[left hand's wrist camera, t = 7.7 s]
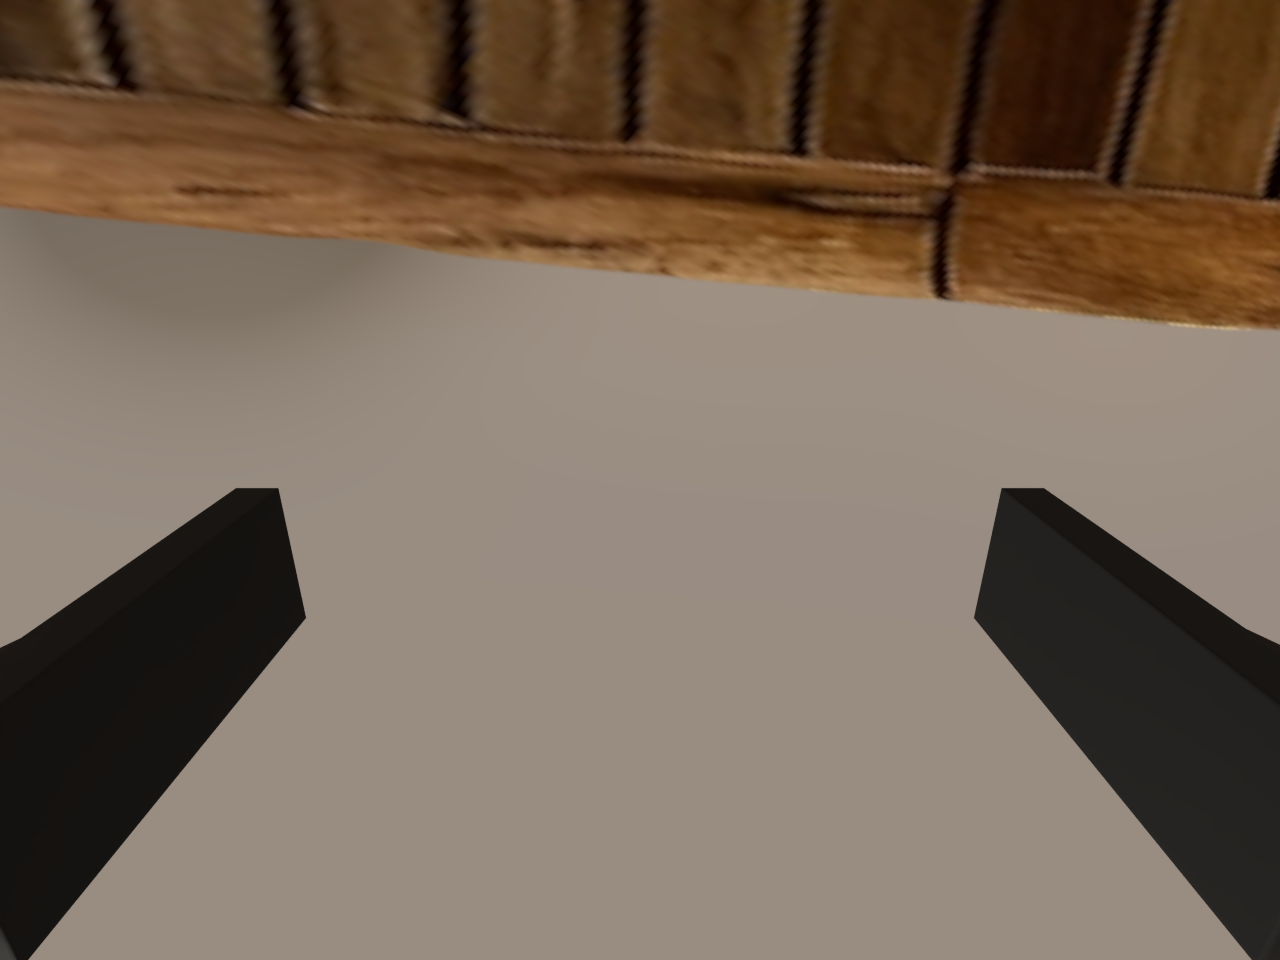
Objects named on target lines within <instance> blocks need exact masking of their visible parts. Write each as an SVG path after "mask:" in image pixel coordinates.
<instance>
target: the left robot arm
mask: <svg viewBox="0 0 1280 960" xmlns="http://www.w3.org/2000/svg"><path fill="white" fill-rule="evenodd" d="M305 618H306V616H305V611H304V606H303V602H302V597H301V592H300V587H299V583H298V578H297V574H296V569H295V564H294V559H293V555H292V550H291V545H290V541H289V536H288V531H287V527H286V522H285V517H284V513H283V508H282V503H281V499H280V494H279V489H278V488H236V489H234V490H233V491H231V492H230V493H229V494H227V495H226V496H224V497H223V498H221V499H220V500H219V501H217V502H216V503H214V504H213V505H211V506H210V507H209V508H207V509H206V510H204V511H203V512H201V513H200V514H198V515H197V516H196V517H194V518H193V519H191V520H190V521H188V522H187V523H186V524H184V525H183V526H181V527H180V528H178V529H177V530H175V531H174V532H173V533H171V534H170V535H168V536H167V537H165V538H164V539H163V540H161V541H160V542H158V543H157V544H155V545H154V546H152V547H151V548H150V549H148V550H147V551H145V552H144V553H142V554H141V555H140V556H138V557H137V558H135V559H134V560H132V561H131V562H130V563H128V564H127V565H125V566H124V567H122V568H121V569H119V570H118V571H117V572H115V573H114V574H112V575H111V576H109V577H108V578H107V579H105V580H104V581H102V582H101V583H99V584H98V585H97V586H95V587H94V588H92V589H91V590H89V591H88V592H86V593H85V594H84V595H82V596H81V597H79V598H78V599H76V600H75V601H73V602H72V603H71V604H69V605H68V606H66V607H65V608H63V609H62V610H61V611H59V612H58V613H56V614H55V615H53V616H52V617H51V618H49V619H48V620H46V621H45V622H43V623H42V624H40V625H39V626H38V627H36V628H35V629H33V630H32V631H30V632H29V633H28V634H26V635H25V636H23V637H22V638H20V639H18V640H16V641H14V642H12V643H9V644H7V645H5V646H3V647H1V648H0V960H28V959H29V958H30V957H31V956H32V954H33V953H34V952H35V951H36V949H37V948H38V947H39V946H40V945H41V943H42V942H43V941H44V940H45V938H46V937H47V936H48V935H49V933H50V932H51V931H52V930H53V928H54V927H55V926H56V925H57V924H58V922H59V921H60V920H61V919H62V917H63V916H64V915H65V914H66V913H67V911H68V910H69V909H70V908H71V906H72V905H73V904H74V903H75V901H76V900H77V899H78V898H79V897H80V895H81V894H82V893H83V892H84V890H85V889H86V888H87V887H88V885H89V884H90V883H91V882H92V881H93V879H94V878H95V877H96V876H97V874H98V873H99V872H100V871H101V869H102V868H103V867H104V866H105V864H106V863H107V862H108V861H109V860H110V858H111V857H112V856H113V855H114V853H115V852H116V851H117V850H118V849H119V847H120V846H121V845H122V844H123V842H124V841H125V840H126V839H127V837H128V836H129V835H130V834H131V833H132V831H133V830H134V829H135V828H136V826H137V825H138V824H139V823H140V821H141V820H142V819H143V818H144V817H145V815H146V814H147V813H148V812H149V810H150V809H151V808H152V807H153V805H154V804H155V803H156V802H157V801H158V799H159V798H160V797H161V796H162V794H163V793H164V792H165V791H166V790H167V788H168V787H169V786H170V785H171V783H172V782H173V781H174V780H175V778H176V777H177V776H178V775H179V774H180V772H181V771H182V770H183V769H184V767H185V766H186V765H187V764H188V762H189V761H190V760H191V759H192V758H193V756H194V755H195V754H196V753H197V751H198V750H199V749H200V748H201V746H202V745H203V744H204V743H205V742H206V740H207V739H208V738H209V737H210V735H211V734H212V733H213V732H214V730H215V729H216V728H217V727H218V726H219V724H220V723H221V722H222V721H223V719H224V718H225V717H226V716H227V714H228V713H229V712H230V711H231V710H232V708H233V707H234V706H235V705H236V703H237V702H238V701H239V700H240V698H241V697H242V696H243V695H244V694H245V692H246V691H247V690H248V689H249V687H250V686H251V685H252V684H253V682H254V681H255V680H256V679H257V678H258V676H259V675H260V674H261V673H262V671H263V670H264V669H265V668H266V666H267V665H268V664H269V663H270V662H271V660H272V659H273V658H274V657H275V655H276V654H277V653H278V652H279V650H280V649H281V648H282V647H283V646H284V644H285V643H286V642H287V641H288V639H289V638H290V637H291V636H292V634H293V633H294V632H295V631H296V630H297V628H298V627H299V626H300V625H301V623H302V622H303V621H304V620H305ZM974 618H975V620H976V621H977V622H978V623H979V625H980V626H981V627H982V628H983V630H984V631H985V632H986V633H987V634H988V636H989V637H990V638H991V639H992V641H993V642H994V643H995V644H996V646H997V647H998V648H999V649H1000V650H1001V652H1002V653H1003V654H1004V655H1005V657H1006V658H1007V659H1008V660H1009V662H1010V663H1011V664H1012V665H1013V666H1014V668H1015V669H1016V670H1017V671H1018V673H1019V674H1020V675H1021V676H1022V678H1023V679H1024V680H1025V681H1026V682H1027V684H1028V685H1029V686H1030V687H1031V689H1032V690H1033V691H1034V692H1035V694H1036V695H1037V696H1038V697H1039V698H1040V700H1041V701H1042V702H1043V703H1044V705H1045V706H1046V707H1047V708H1048V709H1049V711H1050V712H1051V713H1052V714H1053V716H1054V717H1055V718H1056V719H1057V721H1058V722H1059V723H1060V724H1061V726H1062V727H1063V728H1064V729H1065V730H1066V732H1067V733H1068V734H1069V735H1070V737H1071V738H1072V739H1073V740H1074V741H1075V743H1076V744H1077V745H1078V746H1079V748H1080V749H1081V750H1082V751H1083V753H1084V754H1085V755H1086V756H1087V757H1088V759H1089V760H1090V761H1091V762H1092V764H1093V765H1094V766H1095V767H1096V769H1097V770H1098V771H1099V772H1100V773H1101V775H1102V776H1103V777H1104V778H1105V780H1106V781H1107V782H1108V783H1109V785H1110V786H1111V787H1112V788H1113V790H1114V791H1115V792H1116V793H1117V794H1118V796H1119V797H1120V798H1121V799H1122V801H1123V802H1124V803H1125V804H1126V806H1127V807H1128V808H1129V809H1130V810H1131V812H1132V813H1133V814H1134V815H1135V817H1136V818H1137V819H1138V820H1139V821H1140V823H1141V824H1142V825H1143V826H1144V828H1145V829H1146V830H1147V831H1148V833H1149V834H1150V835H1151V836H1152V837H1153V839H1154V840H1155V841H1156V842H1157V844H1158V845H1159V846H1160V847H1161V849H1162V850H1163V851H1164V852H1165V853H1166V855H1167V856H1168V857H1169V858H1170V860H1171V861H1172V862H1173V863H1174V865H1175V866H1176V867H1177V868H1178V869H1179V871H1180V872H1181V873H1182V874H1183V876H1184V877H1185V878H1186V879H1187V881H1188V882H1189V883H1190V884H1191V885H1192V887H1193V888H1194V889H1195V890H1196V892H1197V893H1198V894H1199V895H1200V896H1201V898H1202V899H1203V900H1204V901H1205V903H1206V904H1207V905H1208V906H1209V908H1210V909H1211V910H1212V911H1213V912H1214V914H1215V915H1216V916H1217V917H1218V919H1219V920H1220V921H1221V922H1222V924H1223V925H1224V926H1225V927H1226V929H1227V930H1228V931H1229V932H1230V933H1231V935H1232V936H1233V937H1234V938H1235V940H1236V941H1237V942H1238V943H1239V945H1240V946H1241V947H1242V948H1243V949H1244V951H1245V952H1246V953H1247V954H1248V956H1249V957H1250V958H1251V959H1252V960H1280V645H1279V644H1277V643H1275V642H1273V641H1271V640H1268V639H1266V638H1264V637H1262V636H1260V635H1258V634H1256V633H1253V632H1251V631H1249V630H1247V629H1245V628H1244V627H1242V626H1241V625H1240V624H1238V623H1237V622H1235V621H1234V620H1232V619H1231V618H1229V617H1228V616H1227V615H1225V614H1224V613H1222V612H1221V611H1219V610H1218V609H1217V608H1215V607H1214V606H1212V605H1211V604H1209V603H1208V602H1206V601H1205V600H1204V599H1202V598H1201V597H1199V596H1198V595H1196V594H1195V593H1194V592H1192V591H1191V590H1189V589H1188V588H1186V587H1185V586H1183V585H1182V584H1181V583H1179V582H1178V581H1176V580H1175V579H1173V578H1172V577H1171V576H1169V575H1168V574H1166V573H1165V572H1163V571H1162V570H1161V569H1159V568H1158V567H1156V566H1155V565H1153V564H1152V563H1151V562H1149V561H1148V560H1146V559H1145V558H1143V557H1142V556H1140V555H1139V554H1138V553H1136V552H1135V551H1133V550H1132V549H1130V548H1129V547H1128V546H1126V545H1125V544H1123V543H1122V542H1120V541H1119V540H1117V539H1116V538H1115V537H1113V536H1112V535H1110V534H1109V533H1107V532H1106V531H1105V530H1103V529H1102V528H1100V527H1099V526H1097V525H1096V524H1095V523H1093V522H1092V521H1090V520H1089V519H1087V518H1086V517H1084V516H1083V515H1082V514H1080V513H1079V512H1077V511H1076V510H1074V509H1073V508H1072V507H1070V506H1069V505H1067V504H1066V503H1064V502H1063V501H1061V500H1060V499H1059V498H1057V497H1056V496H1054V495H1053V494H1051V493H1050V492H1049V491H1047V490H1046V489H1044V488H1002V489H1001V494H1000V499H999V503H998V508H997V513H996V517H995V522H994V527H993V531H992V536H991V541H990V545H989V550H988V555H987V559H986V564H985V569H984V573H983V578H982V583H981V587H980V592H979V597H978V602H977V606H976V611H975V616H974Z"/></svg>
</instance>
